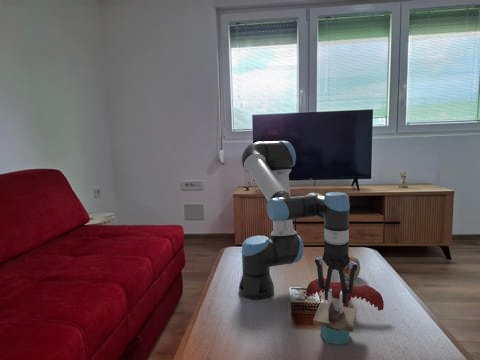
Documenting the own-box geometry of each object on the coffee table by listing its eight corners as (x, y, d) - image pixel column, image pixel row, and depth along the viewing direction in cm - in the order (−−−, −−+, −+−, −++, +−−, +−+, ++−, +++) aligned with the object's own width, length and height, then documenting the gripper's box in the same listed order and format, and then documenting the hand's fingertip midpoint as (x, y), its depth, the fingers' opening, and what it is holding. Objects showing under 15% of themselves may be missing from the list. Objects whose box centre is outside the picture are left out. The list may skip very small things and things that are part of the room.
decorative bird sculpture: (382, 333, 113) (384, 291, 121) (382, 327, 106) (384, 283, 114) (304, 316, 126) (310, 279, 133) (299, 309, 119) (306, 271, 126)
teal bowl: (318, 340, 104) (318, 325, 103) (324, 325, 112) (324, 312, 111) (347, 347, 100) (347, 332, 99) (350, 331, 108) (351, 317, 107)
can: (343, 294, 133) (344, 267, 131) (327, 293, 134) (328, 266, 132) (342, 287, 139) (342, 261, 137) (326, 286, 140) (327, 260, 139)
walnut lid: (312, 323, 102) (312, 309, 101) (320, 305, 113) (320, 292, 112) (352, 332, 97) (352, 317, 96) (356, 312, 108) (356, 299, 107)
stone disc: (347, 283, 143) (348, 261, 142) (340, 280, 146) (341, 259, 145) (361, 276, 149) (362, 256, 148) (354, 274, 152) (355, 254, 151)
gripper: (308, 241, 102) (308, 310, 105) (362, 247, 95) (360, 321, 98) (313, 235, 108) (313, 300, 111) (364, 240, 101) (362, 309, 105)
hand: (335, 310), depth 105 cm, fingers closed on walnut lid, 3 cm apart
